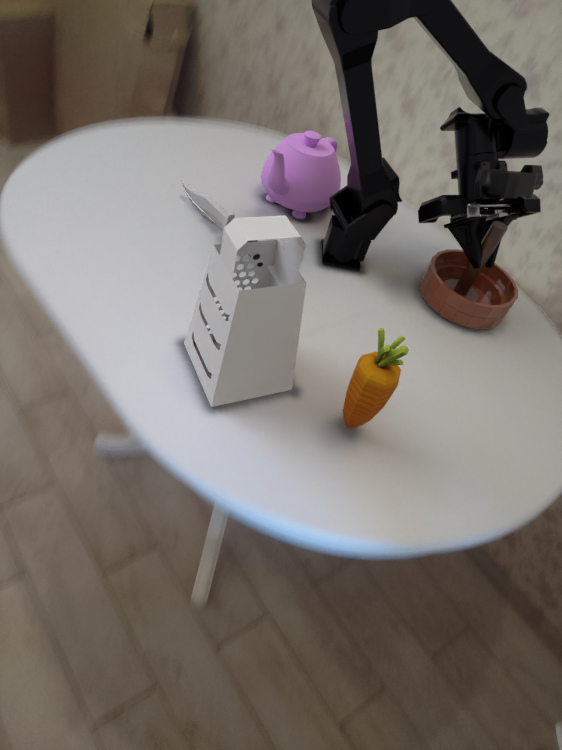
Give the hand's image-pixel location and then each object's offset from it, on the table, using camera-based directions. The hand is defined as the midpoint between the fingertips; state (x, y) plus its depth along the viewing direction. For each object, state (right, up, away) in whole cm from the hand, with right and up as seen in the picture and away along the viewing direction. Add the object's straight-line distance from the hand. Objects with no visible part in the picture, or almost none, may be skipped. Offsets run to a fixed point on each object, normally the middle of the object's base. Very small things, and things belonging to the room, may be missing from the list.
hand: (483, 267), depth 76 cm
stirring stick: (-2, -3, +6) cm, 7 cm away
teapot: (-28, +15, +17) cm, 36 cm away
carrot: (-22, -22, -15) cm, 35 cm away
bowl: (-1, -4, +7) cm, 8 cm away
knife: (-40, +6, +6) cm, 41 cm away
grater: (-36, -15, -12) cm, 41 cm away
